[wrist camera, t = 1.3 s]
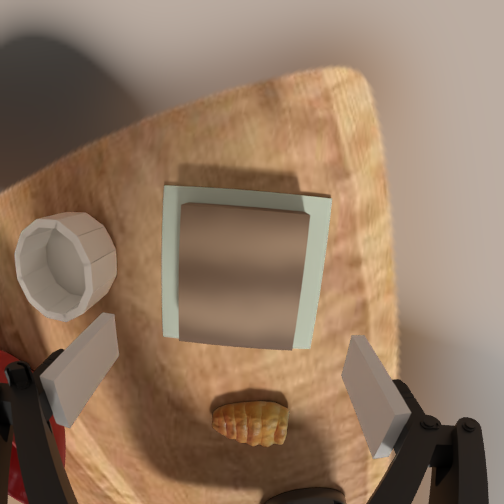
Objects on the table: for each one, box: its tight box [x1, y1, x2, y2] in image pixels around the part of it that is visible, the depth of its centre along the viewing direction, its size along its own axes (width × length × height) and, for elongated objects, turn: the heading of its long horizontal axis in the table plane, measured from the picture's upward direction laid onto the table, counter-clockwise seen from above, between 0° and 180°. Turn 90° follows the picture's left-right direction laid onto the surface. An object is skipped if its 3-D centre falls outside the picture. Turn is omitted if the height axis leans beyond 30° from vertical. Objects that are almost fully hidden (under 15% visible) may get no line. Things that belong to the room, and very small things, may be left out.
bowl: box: [14, 212, 117, 322], centre depth 28 cm, size 10×10×6 cm
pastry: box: [212, 401, 289, 447], centre depth 33 cm, size 9×7×4 cm
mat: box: [162, 185, 332, 349], centre depth 31 cm, size 16×16×1 cm
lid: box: [179, 202, 310, 350], centre depth 29 cm, size 13×11×3 cm
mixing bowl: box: [0, 350, 66, 504], centre depth 28 cm, size 28×28×16 cm
